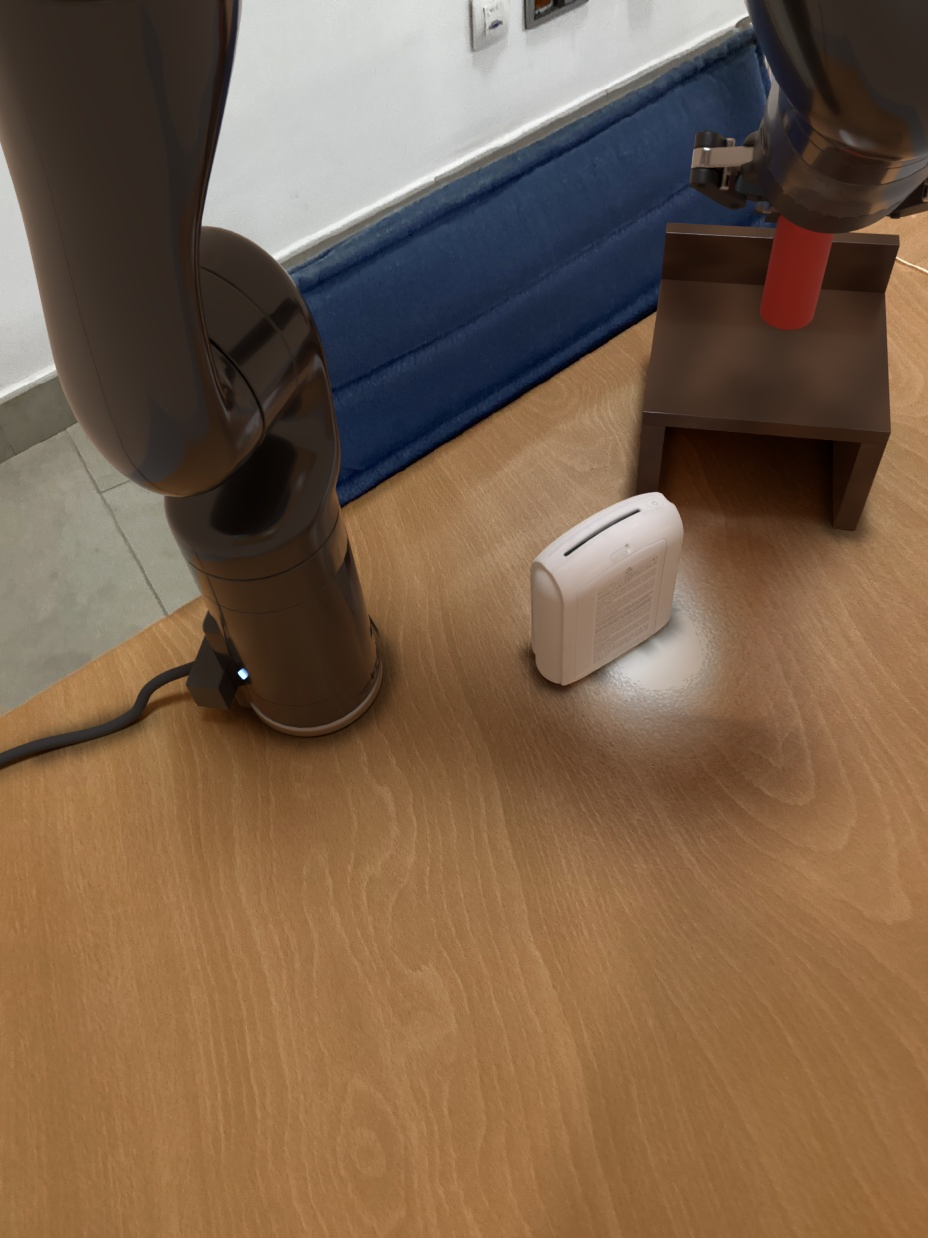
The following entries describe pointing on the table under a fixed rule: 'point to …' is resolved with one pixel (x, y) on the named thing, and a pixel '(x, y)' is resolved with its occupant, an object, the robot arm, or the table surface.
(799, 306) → the battery
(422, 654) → the table surface
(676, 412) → the shelf
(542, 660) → the photo printer
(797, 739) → the table surface
